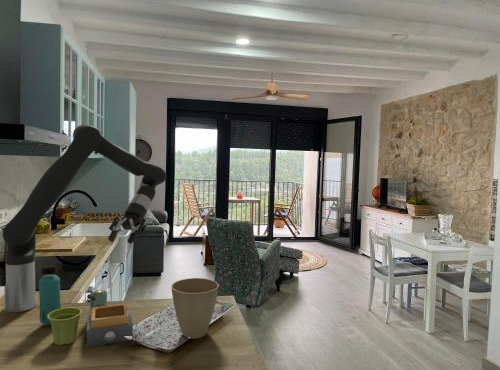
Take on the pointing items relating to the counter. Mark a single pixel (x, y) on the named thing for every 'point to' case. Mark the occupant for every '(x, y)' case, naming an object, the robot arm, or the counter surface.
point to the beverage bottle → (49, 293)
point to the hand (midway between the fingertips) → (119, 241)
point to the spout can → (97, 299)
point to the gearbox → (109, 325)
